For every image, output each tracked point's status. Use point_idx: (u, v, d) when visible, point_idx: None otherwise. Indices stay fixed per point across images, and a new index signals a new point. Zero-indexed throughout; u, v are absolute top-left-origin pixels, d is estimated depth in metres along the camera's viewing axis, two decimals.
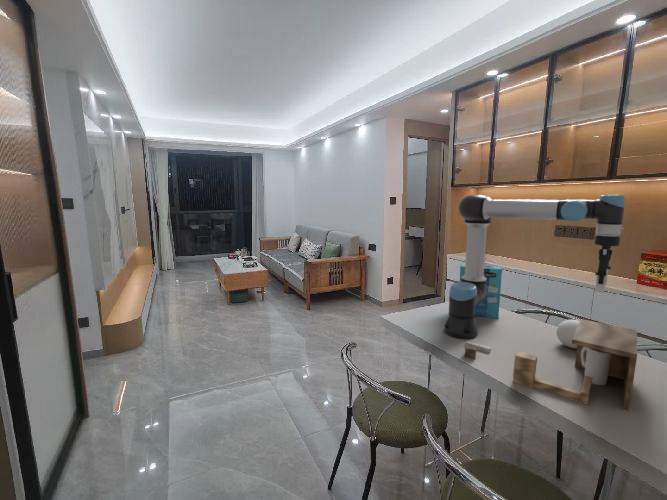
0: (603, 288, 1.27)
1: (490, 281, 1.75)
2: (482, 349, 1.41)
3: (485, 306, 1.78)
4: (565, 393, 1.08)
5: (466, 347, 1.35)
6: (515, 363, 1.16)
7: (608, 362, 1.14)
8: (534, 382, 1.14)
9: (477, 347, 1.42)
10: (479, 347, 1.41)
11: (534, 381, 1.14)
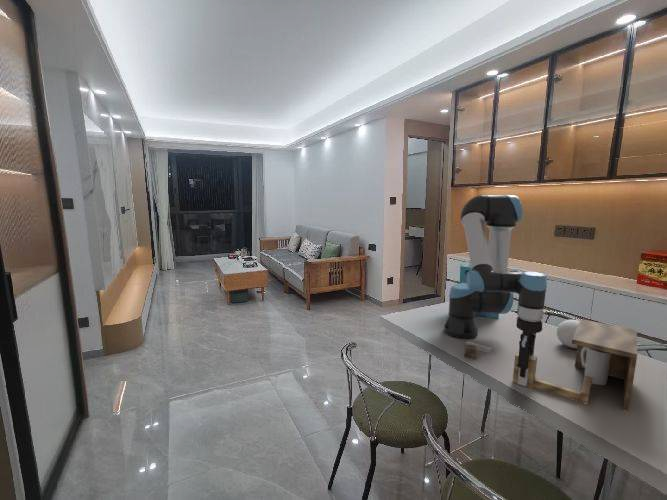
0: (525, 381, 1.14)
1: None
2: (482, 349, 1.41)
3: None
4: (565, 393, 1.08)
5: (466, 347, 1.35)
6: (515, 363, 1.16)
7: (608, 362, 1.14)
8: (534, 382, 1.14)
9: (477, 347, 1.42)
10: (479, 347, 1.41)
11: (534, 381, 1.14)
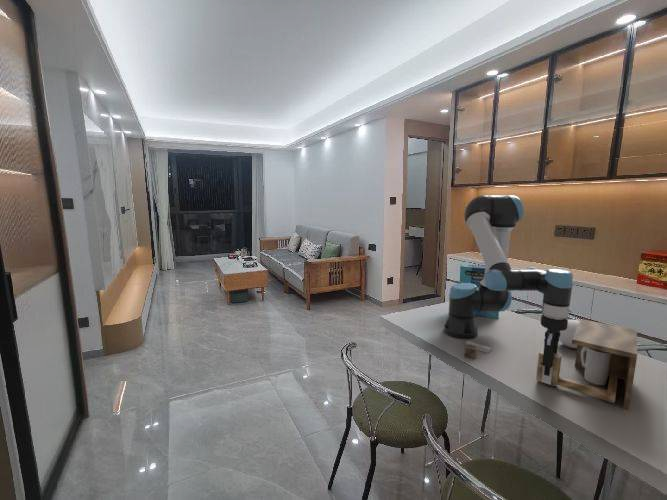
0: (549, 380, 1.13)
1: None
2: (482, 349, 1.41)
3: None
4: (591, 391, 1.07)
5: (466, 347, 1.35)
6: (539, 361, 1.15)
7: (608, 362, 1.14)
8: (558, 380, 1.13)
9: (477, 347, 1.42)
10: (479, 347, 1.41)
11: (558, 379, 1.13)
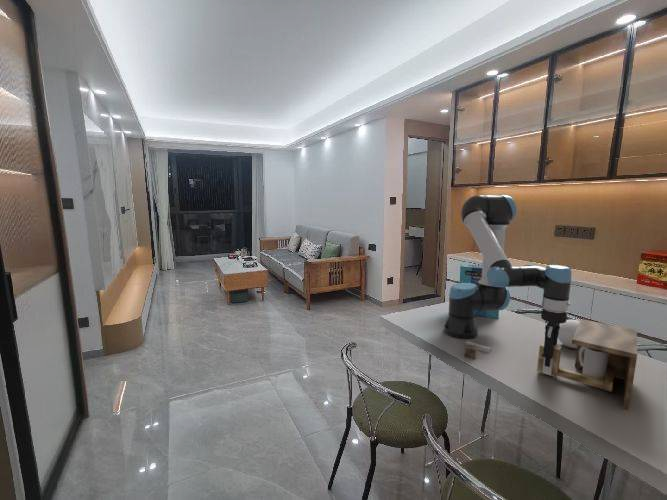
0: (550, 370, 1.19)
1: None
2: (482, 349, 1.41)
3: None
4: (589, 381, 1.13)
5: (466, 347, 1.35)
6: (540, 353, 1.21)
7: (606, 361, 1.14)
8: (558, 371, 1.18)
9: (477, 347, 1.42)
10: (479, 347, 1.41)
11: (558, 370, 1.18)
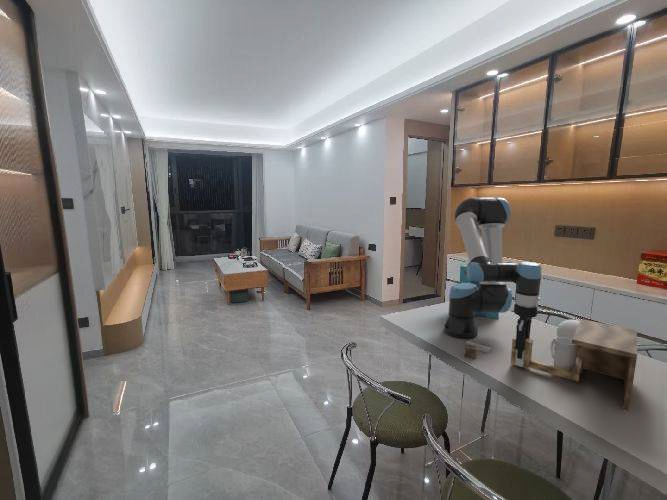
0: (522, 362, 1.24)
1: None
2: (482, 349, 1.41)
3: None
4: (558, 372, 1.19)
5: (466, 347, 1.35)
6: (513, 346, 1.27)
7: (574, 353, 1.20)
8: (530, 363, 1.24)
9: (477, 347, 1.42)
10: (479, 347, 1.41)
11: (530, 362, 1.24)
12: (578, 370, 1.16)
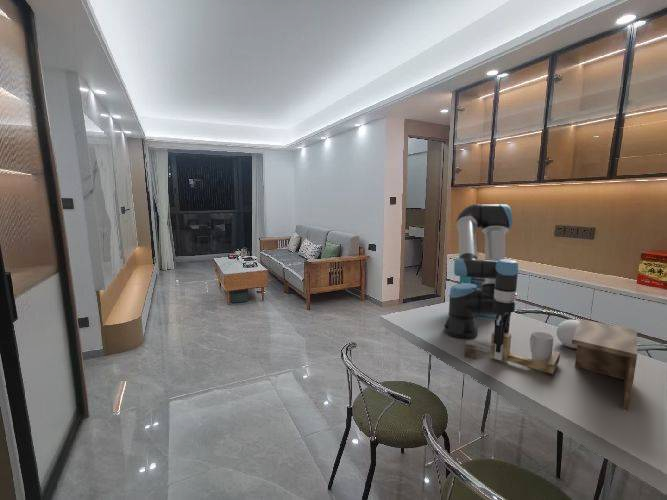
0: (500, 356, 1.29)
1: None
2: (482, 349, 1.41)
3: None
4: (534, 365, 1.23)
5: (466, 347, 1.35)
6: (492, 340, 1.31)
7: (549, 347, 1.25)
8: (508, 357, 1.29)
9: (477, 347, 1.42)
10: (479, 347, 1.41)
11: (508, 356, 1.29)
12: (553, 363, 1.20)
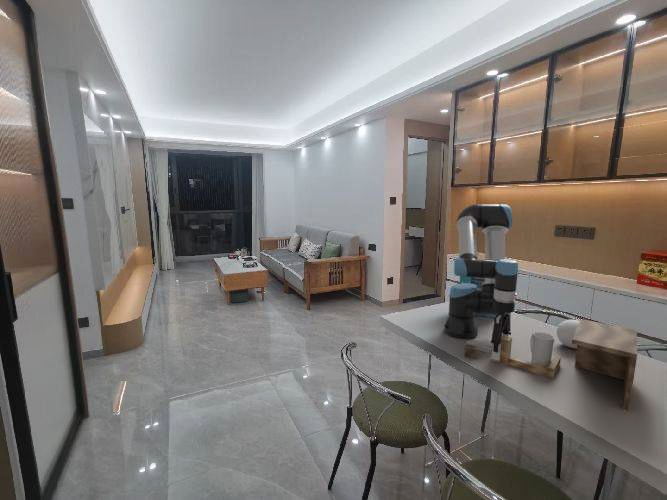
0: (498, 356, 1.27)
1: None
2: (482, 349, 1.41)
3: None
4: (535, 369, 1.23)
5: (466, 347, 1.35)
6: (492, 344, 1.31)
7: (550, 348, 1.24)
8: (509, 360, 1.29)
9: (477, 347, 1.42)
10: (479, 347, 1.41)
11: (509, 359, 1.29)
12: (553, 367, 1.20)
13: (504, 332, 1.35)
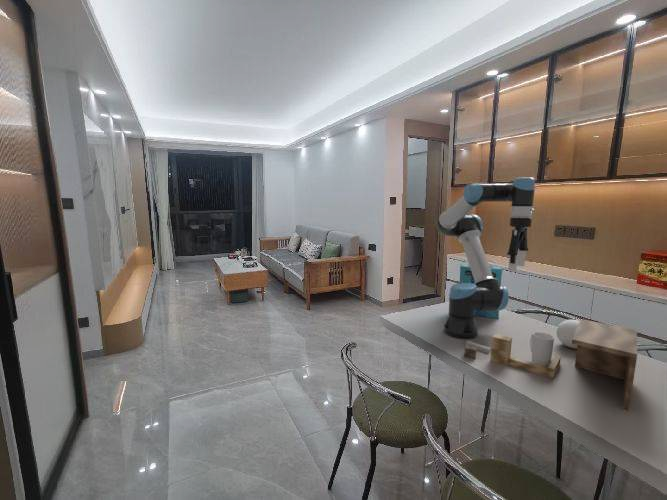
0: (515, 267, 1.32)
1: None
2: (482, 349, 1.41)
3: None
4: (535, 369, 1.23)
5: (466, 347, 1.35)
6: (492, 344, 1.31)
7: (550, 348, 1.24)
8: (509, 360, 1.29)
9: (477, 347, 1.42)
10: (479, 347, 1.41)
11: (509, 359, 1.29)
12: (553, 367, 1.20)
13: (521, 249, 1.43)
